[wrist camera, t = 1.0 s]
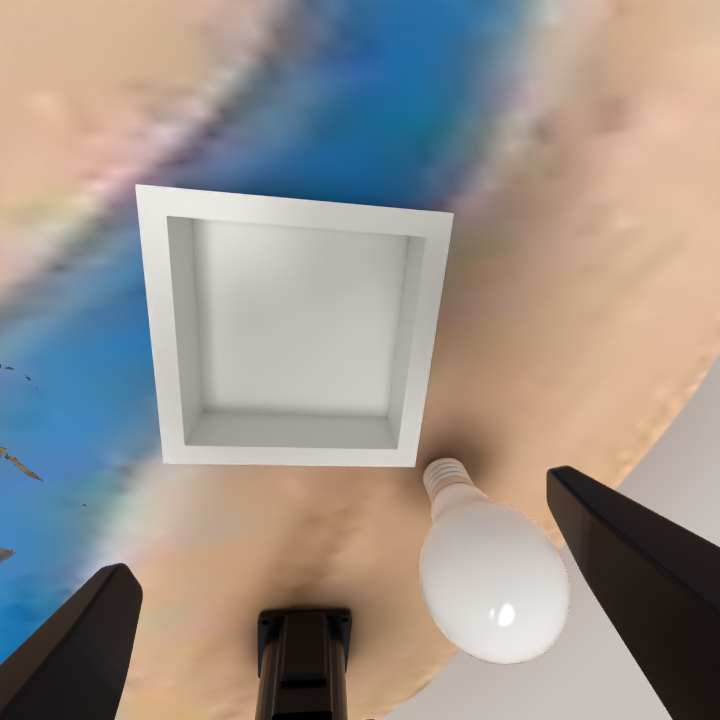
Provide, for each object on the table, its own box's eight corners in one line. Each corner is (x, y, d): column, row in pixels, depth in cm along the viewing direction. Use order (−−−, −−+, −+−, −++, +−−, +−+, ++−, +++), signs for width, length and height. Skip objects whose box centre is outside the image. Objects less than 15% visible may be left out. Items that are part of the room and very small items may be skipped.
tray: (400, 426, 24) (414, 467, 20) (189, 421, 22) (163, 463, 19) (428, 211, 20) (454, 213, 16) (172, 188, 18) (135, 184, 15)
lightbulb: (509, 465, 26) (635, 637, 15) (435, 525, 27) (507, 721, 17) (447, 405, 24) (544, 556, 13) (370, 473, 25) (405, 659, 15)
